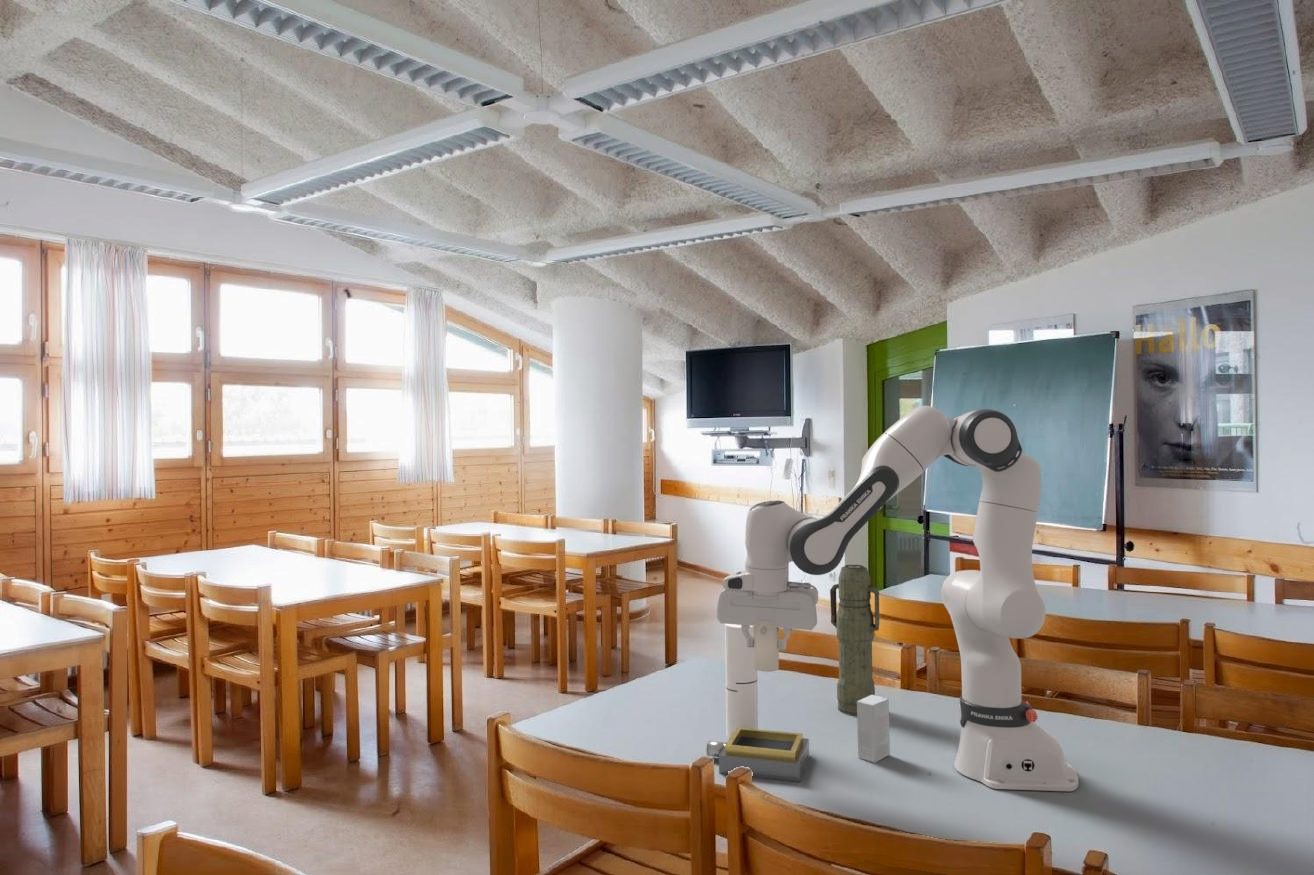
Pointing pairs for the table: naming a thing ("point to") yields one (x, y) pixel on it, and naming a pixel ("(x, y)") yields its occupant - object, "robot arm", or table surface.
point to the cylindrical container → (740, 681)
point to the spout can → (766, 646)
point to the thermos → (854, 635)
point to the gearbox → (763, 753)
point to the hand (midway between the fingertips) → (766, 647)
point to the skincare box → (873, 728)
